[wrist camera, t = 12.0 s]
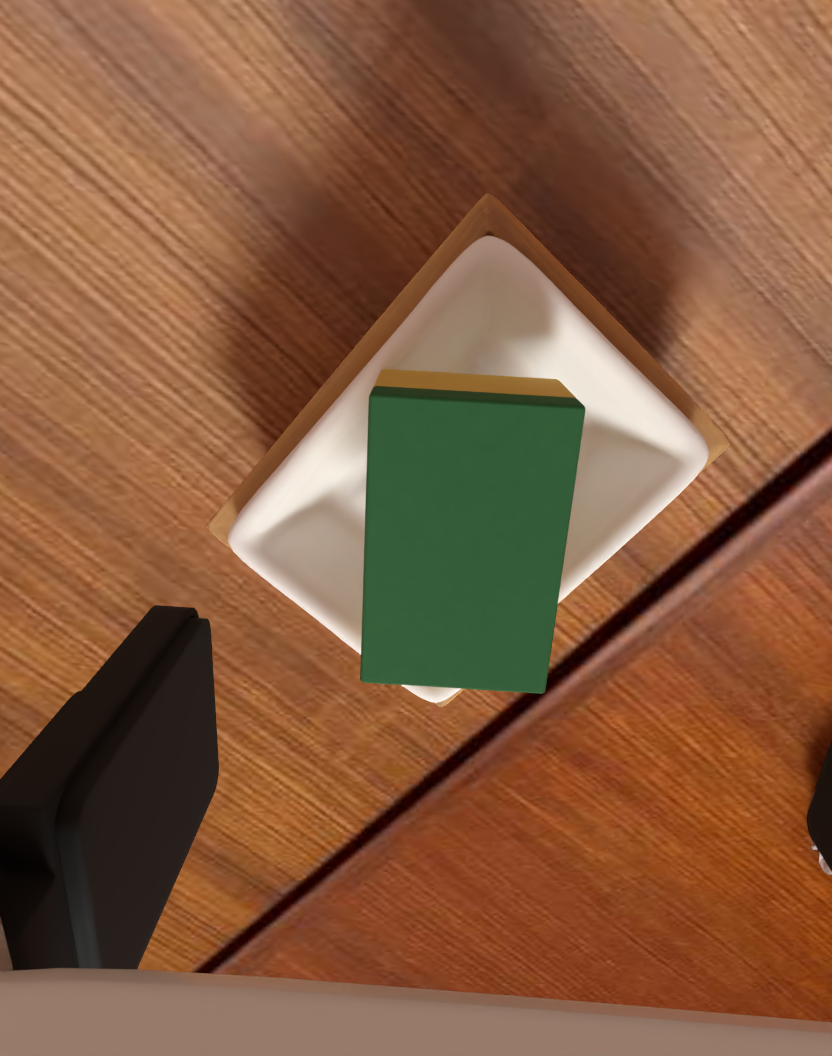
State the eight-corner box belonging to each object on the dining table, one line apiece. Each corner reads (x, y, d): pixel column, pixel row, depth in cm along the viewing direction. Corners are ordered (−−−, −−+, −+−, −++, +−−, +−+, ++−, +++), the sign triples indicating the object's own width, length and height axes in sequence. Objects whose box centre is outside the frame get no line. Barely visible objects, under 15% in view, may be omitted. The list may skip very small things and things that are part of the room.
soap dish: (478, 198, 21) (491, 182, 16) (694, 414, 23) (759, 454, 19) (234, 491, 25) (187, 546, 20) (440, 654, 27) (441, 739, 22)
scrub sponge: (380, 367, 18) (368, 392, 15) (559, 378, 18) (586, 406, 15) (371, 616, 21) (359, 683, 17) (528, 625, 21) (545, 695, 17)
